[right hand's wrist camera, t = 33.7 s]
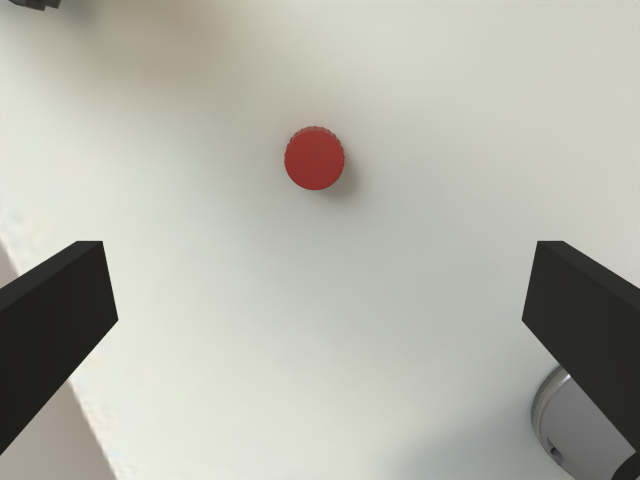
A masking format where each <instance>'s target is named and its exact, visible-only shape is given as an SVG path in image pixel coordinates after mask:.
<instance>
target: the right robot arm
mask: <svg viewBox="0 0 640 480" xmlns="http://www.w3.org/2000/svg"><path fill="white" fill-rule="evenodd" d="M117 321H118V315H117V310H116V305H115V301H114V296H113V291H112V286H111V281H110V276H109V271H108V266H107V261H106V256H105V251H104V246H103V241H76V242H74V243H73V244H71V245H70V246H68V247H66V248H65V249H63V250H62V251H60V252H58V253H57V254H55V255H54V256H52V257H50V258H49V259H47V260H46V261H44V262H42V263H41V264H39V265H38V266H36V267H34V268H33V269H31V270H30V271H28V272H26V273H25V274H23V275H22V276H20V277H18V278H17V279H15V280H14V281H12V282H10V283H9V284H7V285H6V286H4V287H2V288H1V289H0V455H1V454H2V453H3V452H4V451H5V450H6V449H7V447H8V446H9V445H10V444H11V443H12V442H13V440H14V439H15V438H16V437H17V436H18V435H19V434H20V432H21V431H22V430H23V429H24V428H25V427H26V426H27V424H28V423H29V422H30V421H31V420H32V419H33V418H34V416H35V415H36V414H37V413H38V412H39V411H40V409H41V408H42V407H43V406H44V405H45V404H46V403H47V401H48V400H49V399H50V398H51V397H52V396H53V395H54V393H55V392H56V391H57V390H58V389H59V388H60V387H61V385H62V384H63V383H64V382H65V381H66V380H67V379H68V377H69V376H70V375H71V374H72V373H73V372H74V371H75V369H76V368H77V367H78V366H79V365H80V364H81V363H82V361H83V360H84V359H85V358H86V357H87V356H88V354H89V353H90V352H91V351H92V350H93V349H94V348H95V346H96V345H97V344H98V343H99V342H100V341H101V340H102V338H103V337H104V336H105V335H106V334H107V333H108V332H109V330H110V329H111V328H112V327H113V326H114V325H115V324H116V322H117ZM522 321H523V322H524V324H525V325H526V326H527V327H528V328H529V329H530V330H531V332H532V333H533V334H534V335H535V336H536V337H537V338H538V340H539V341H540V342H541V343H542V344H543V345H544V346H545V348H546V349H547V350H548V351H549V352H550V353H551V354H552V356H553V357H554V358H555V359H556V360H557V361H558V363H559V364H560V365H561V366H559V367H558V368H557V369H556V370H555V371H554V372H553V373H552V374H551V375H550V376H549V377H548V378H547V379H546V381H545V382H544V383H543V385H542V386H541V387H540V389H539V391H538V393H537V395H536V397H535V399H534V402H533V406H532V412H531V421H532V426H533V430H534V432H535V434H536V436H537V438H538V439H539V441H540V443H541V444H542V446H543V448H544V449H545V451H546V452H547V453H548V455H549V456H550V457H551V458H552V459H553V460H554V461H555V462H556V463H557V464H558V465H560V466H561V467H562V468H563V469H564V470H565V471H566V472H568V473H569V474H570V475H571V476H572V477H573V478H574V479H576V480H640V289H639V288H638V287H636V286H634V285H633V284H631V283H630V282H628V281H626V280H625V279H623V278H622V277H620V276H618V275H617V274H615V273H614V272H612V271H610V270H609V269H607V268H606V267H604V266H602V265H601V264H599V263H598V262H596V261H594V260H593V259H591V258H590V257H588V256H586V255H585V254H583V253H582V252H580V251H578V250H577V249H575V248H574V247H572V246H570V245H569V244H567V243H566V242H564V241H537V246H536V251H535V256H534V261H533V266H532V271H531V276H530V281H529V286H528V291H527V296H526V301H525V305H524V310H523V315H522Z"/></svg>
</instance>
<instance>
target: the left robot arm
mask: <svg viewBox="0 0 640 480" xmlns="http://www.w3.org/2000/svg"><path fill="white" fill-rule="evenodd" d="M9 1H11V2H12V3H14V4H16V5H20V6H23V7H27V8H31V9H36V10H41V11H44V9H45V6H50V7H53V8H57V9H58V7H59V4H60V1H61V0H9Z"/></svg>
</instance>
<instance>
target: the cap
mask: <svg viewBox="0 0 640 480" xmlns="http://www.w3.org/2000/svg"><path fill="white" fill-rule="evenodd" d="M344 158H345V157H344V154H343V148H342V146H341V145H340V141H339V140H338V139H337V138H336V136H335V134H332V133H331V132H330V130H326V129H324V128H323V127H322V128H321V127H316V126H315V127H308V128H305V129H301V131H299V132H298V133H297V132H296V134H295V135H294V136H293V138H291V140H290V143H288V145H287V150H286V152H285V162H284V163H285V167H286V170H287V173H288V175H289V176H290V178H291V179H292V180H293V181H294V182H295V183H296V184H297V185H299V186H300V187H303V188H305V189H309V190H320V189H324V188H327V187H328V186H330V185H332V184H333V183H334V182H335V181H336V180H337V179H338V178H339V176H340V175H341V173H342V170H343V166H344Z"/></svg>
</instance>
